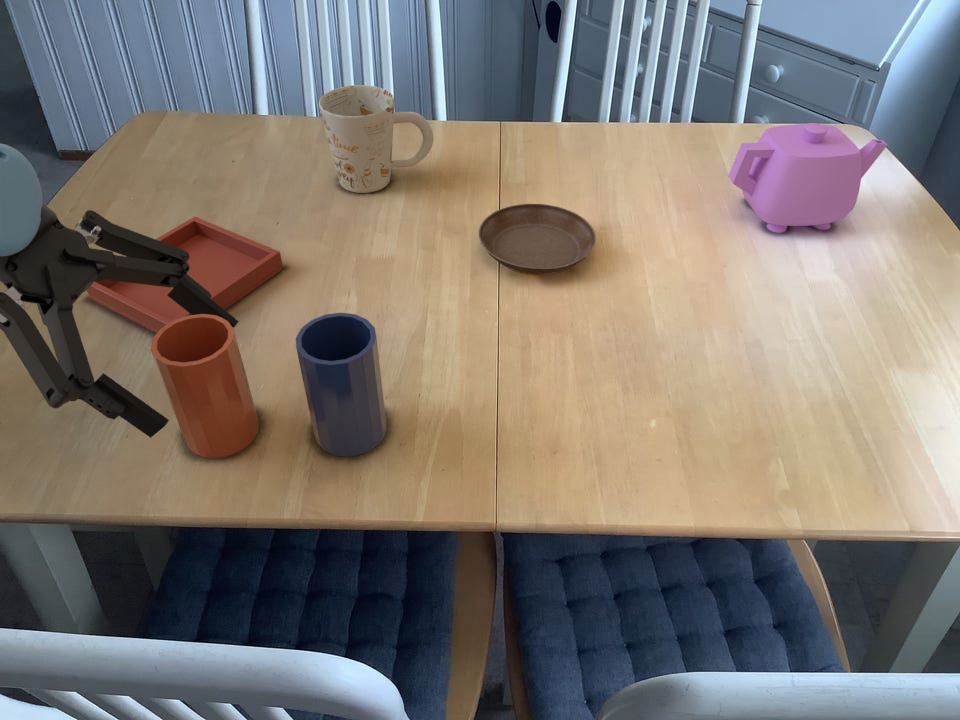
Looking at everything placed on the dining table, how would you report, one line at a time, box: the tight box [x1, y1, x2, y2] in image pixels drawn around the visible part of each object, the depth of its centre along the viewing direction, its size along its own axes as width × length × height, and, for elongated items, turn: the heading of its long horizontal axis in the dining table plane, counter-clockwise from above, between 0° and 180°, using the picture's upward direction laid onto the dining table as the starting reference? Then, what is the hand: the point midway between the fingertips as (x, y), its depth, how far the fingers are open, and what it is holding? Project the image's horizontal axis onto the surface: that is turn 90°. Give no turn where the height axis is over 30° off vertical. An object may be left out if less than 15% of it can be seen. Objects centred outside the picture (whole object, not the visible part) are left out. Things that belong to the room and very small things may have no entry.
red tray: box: [86, 216, 284, 334], centre depth 94 cm, size 17×15×3 cm
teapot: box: [727, 122, 888, 234], centre depth 102 cm, size 20×12×13 cm, turn 97°
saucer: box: [478, 203, 597, 276], centre depth 99 cm, size 15×15×3 cm
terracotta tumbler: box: [150, 314, 260, 459], centre depth 73 cm, size 7×7×12 cm
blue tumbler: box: [295, 312, 387, 457], centre depth 73 cm, size 7×7×12 cm
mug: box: [318, 84, 435, 194], centre depth 109 cm, size 10×15×12 cm, turn 101°
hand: (197, 376), depth 72 cm, fingers open, 13 cm apart
